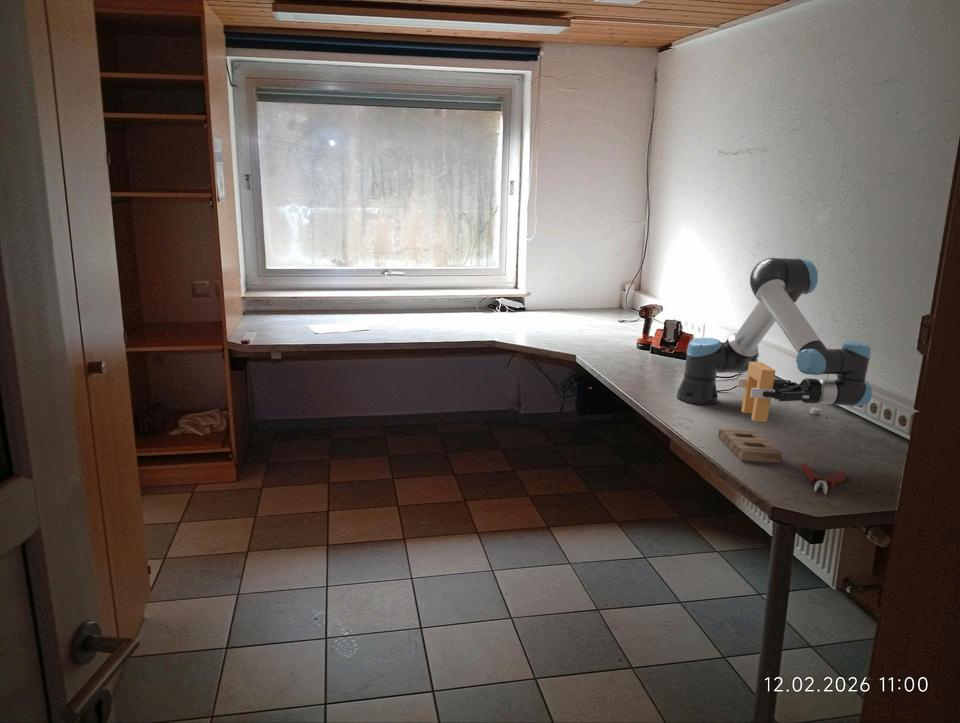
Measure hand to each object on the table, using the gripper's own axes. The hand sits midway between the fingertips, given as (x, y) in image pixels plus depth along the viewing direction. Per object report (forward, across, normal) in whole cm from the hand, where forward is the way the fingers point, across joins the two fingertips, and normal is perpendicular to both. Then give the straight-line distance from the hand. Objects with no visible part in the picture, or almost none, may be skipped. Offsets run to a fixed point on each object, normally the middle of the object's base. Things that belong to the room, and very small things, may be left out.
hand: (744, 387), depth 209 cm
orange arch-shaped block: (-4, 0, -9) cm, 10 cm away
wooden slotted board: (-4, 0, -20) cm, 20 cm away
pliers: (-15, -22, -21) cm, 34 cm away
